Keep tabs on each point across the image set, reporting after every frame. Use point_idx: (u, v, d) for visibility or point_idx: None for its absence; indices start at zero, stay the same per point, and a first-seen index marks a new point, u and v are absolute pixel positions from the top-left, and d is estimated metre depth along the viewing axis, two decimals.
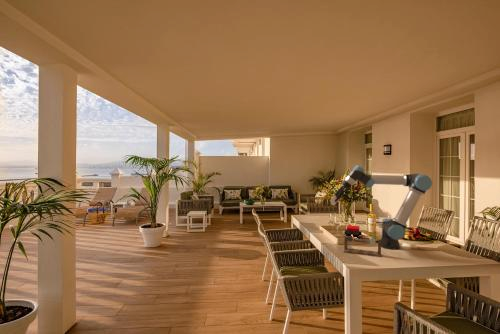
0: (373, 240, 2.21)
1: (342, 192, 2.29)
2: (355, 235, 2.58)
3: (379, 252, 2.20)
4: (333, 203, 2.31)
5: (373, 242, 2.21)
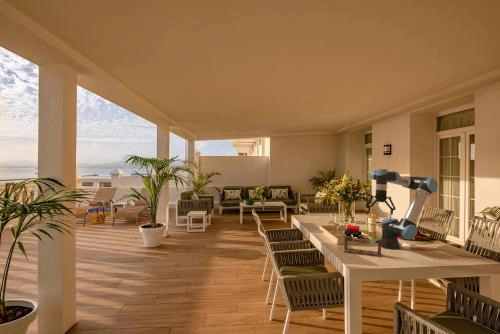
0: (373, 240, 2.21)
1: (392, 202, 2.17)
2: (355, 235, 2.58)
3: (379, 252, 2.20)
4: (390, 217, 2.17)
5: (373, 242, 2.21)
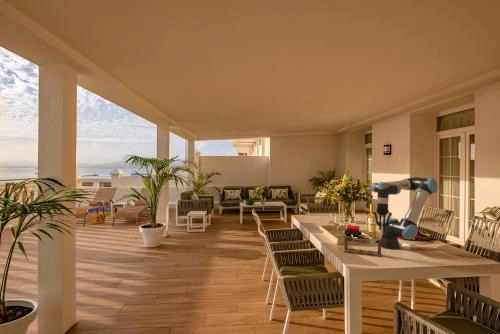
0: (373, 240, 2.21)
1: (389, 218, 2.18)
2: (355, 235, 2.58)
3: (379, 252, 2.20)
4: (382, 232, 2.20)
5: (373, 242, 2.21)
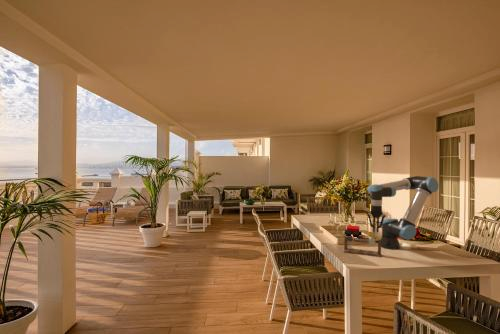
0: (373, 240, 2.21)
1: (383, 220, 2.20)
2: (355, 235, 2.58)
3: (379, 252, 2.20)
4: (376, 234, 2.22)
5: (373, 242, 2.21)
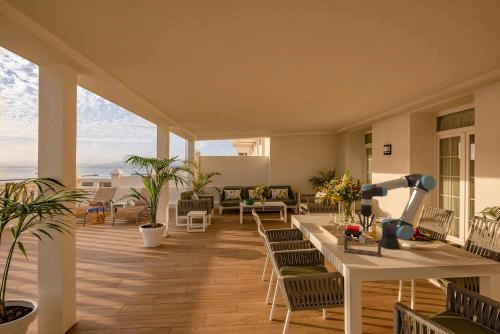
0: (363, 239, 2.24)
1: (372, 219, 2.23)
2: (355, 235, 2.58)
3: (379, 252, 2.20)
4: (366, 233, 2.25)
5: (363, 241, 2.24)
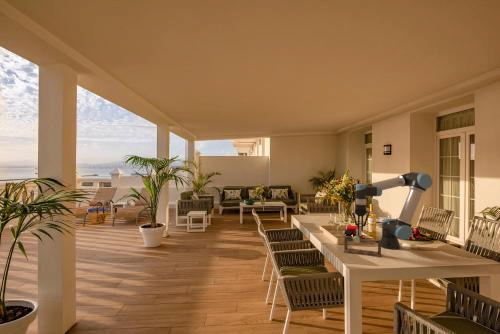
0: (357, 238, 2.25)
1: None
2: (355, 235, 2.58)
3: (379, 252, 2.20)
4: None
5: (357, 240, 2.25)
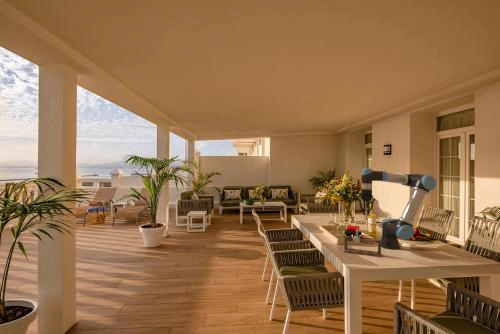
0: (357, 238, 2.25)
1: None
2: (355, 235, 2.58)
3: (379, 252, 2.20)
4: None
5: (357, 240, 2.25)
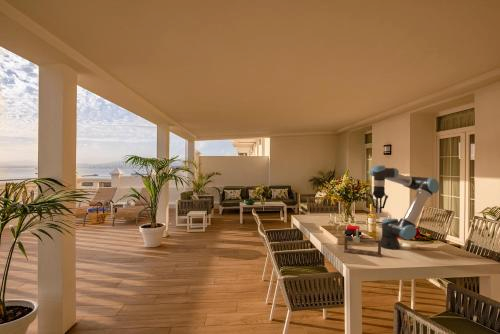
0: (357, 238, 2.25)
1: (385, 201, 2.20)
2: (355, 235, 2.58)
3: (379, 252, 2.20)
4: (379, 215, 2.22)
5: (357, 240, 2.25)
